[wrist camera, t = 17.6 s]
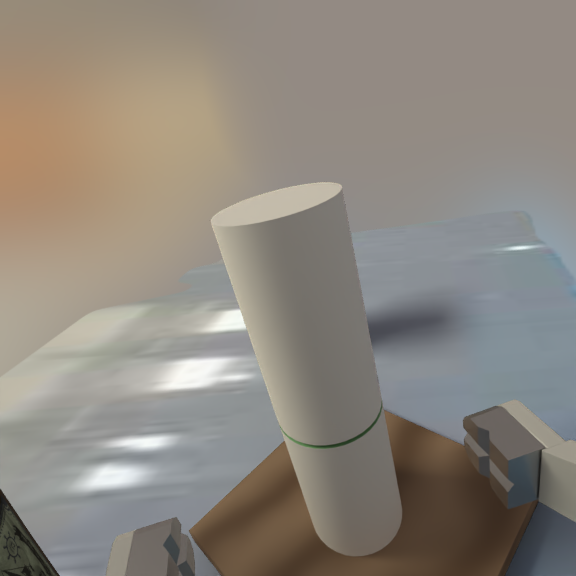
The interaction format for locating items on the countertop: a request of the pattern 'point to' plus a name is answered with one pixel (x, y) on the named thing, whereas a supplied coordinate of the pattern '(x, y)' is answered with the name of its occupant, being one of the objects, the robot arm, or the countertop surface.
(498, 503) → the board
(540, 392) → the countertop surface
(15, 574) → the olive oil
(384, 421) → the cylindrical container
